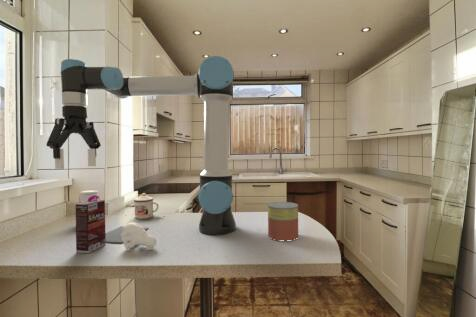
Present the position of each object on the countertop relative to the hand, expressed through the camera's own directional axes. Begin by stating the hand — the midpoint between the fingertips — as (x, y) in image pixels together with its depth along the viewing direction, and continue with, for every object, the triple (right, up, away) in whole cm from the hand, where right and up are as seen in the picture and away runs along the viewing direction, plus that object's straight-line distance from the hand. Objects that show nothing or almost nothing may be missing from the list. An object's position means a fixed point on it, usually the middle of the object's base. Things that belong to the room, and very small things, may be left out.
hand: (77, 167), depth 94 cm
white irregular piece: (+24, -27, -4) cm, 36 cm away
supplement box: (+7, -28, -3) cm, 29 cm away
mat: (+10, -27, +12) cm, 31 cm away
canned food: (+73, -26, +6) cm, 78 cm away
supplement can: (-11, -27, +28) cm, 41 cm away
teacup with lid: (+11, -26, +40) cm, 49 cm away
